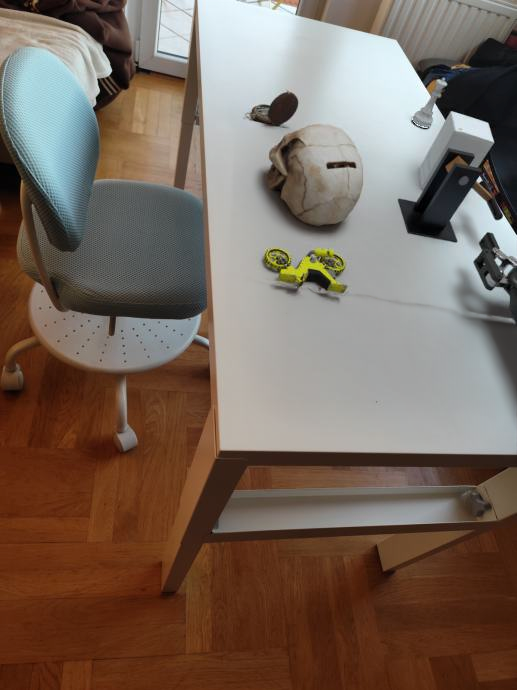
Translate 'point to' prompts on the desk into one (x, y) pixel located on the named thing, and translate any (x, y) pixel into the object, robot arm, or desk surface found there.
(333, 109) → the desk surface
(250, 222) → the desk surface
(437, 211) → the bracket
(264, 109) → the compass
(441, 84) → the chess piece
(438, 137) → the white packaging box
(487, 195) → the lever
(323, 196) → the coin bank
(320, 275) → the toy motorcycle
